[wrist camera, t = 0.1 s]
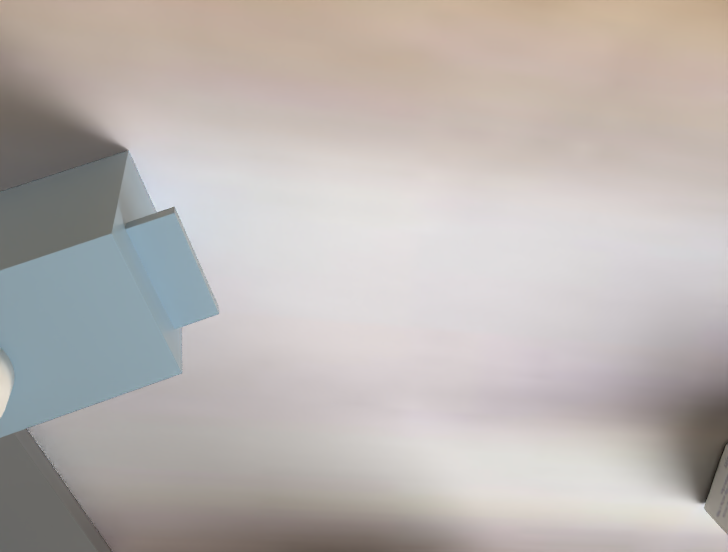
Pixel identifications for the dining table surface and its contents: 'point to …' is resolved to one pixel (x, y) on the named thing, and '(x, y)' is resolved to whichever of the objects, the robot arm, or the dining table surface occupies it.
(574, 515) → the dining table surface
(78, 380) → the block
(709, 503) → the medicine box
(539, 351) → the dining table surface
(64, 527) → the chassis plate
